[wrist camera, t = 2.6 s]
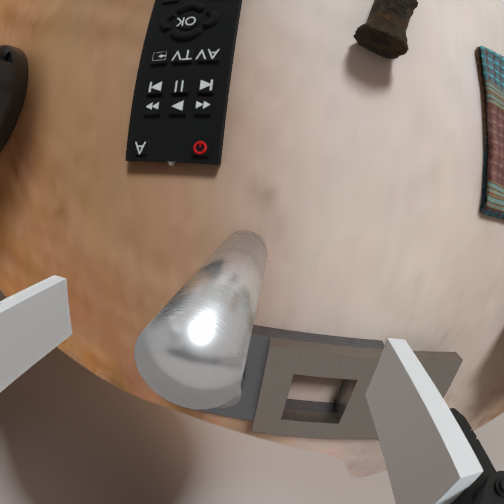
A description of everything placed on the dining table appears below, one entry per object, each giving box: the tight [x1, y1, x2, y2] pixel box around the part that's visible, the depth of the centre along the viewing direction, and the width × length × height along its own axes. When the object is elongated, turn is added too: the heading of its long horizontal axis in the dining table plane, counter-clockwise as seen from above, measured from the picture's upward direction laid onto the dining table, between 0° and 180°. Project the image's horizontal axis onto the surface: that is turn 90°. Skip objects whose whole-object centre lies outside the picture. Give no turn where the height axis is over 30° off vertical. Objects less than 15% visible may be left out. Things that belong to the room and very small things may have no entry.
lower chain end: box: [194, 325, 385, 421], centre depth 24 cm, size 17×10×4 cm, turn 82°
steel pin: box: [134, 231, 267, 409], centre depth 16 cm, size 4×4×15 cm
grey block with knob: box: [252, 337, 463, 439], centre depth 23 cm, size 18×10×4 cm, turn 82°
